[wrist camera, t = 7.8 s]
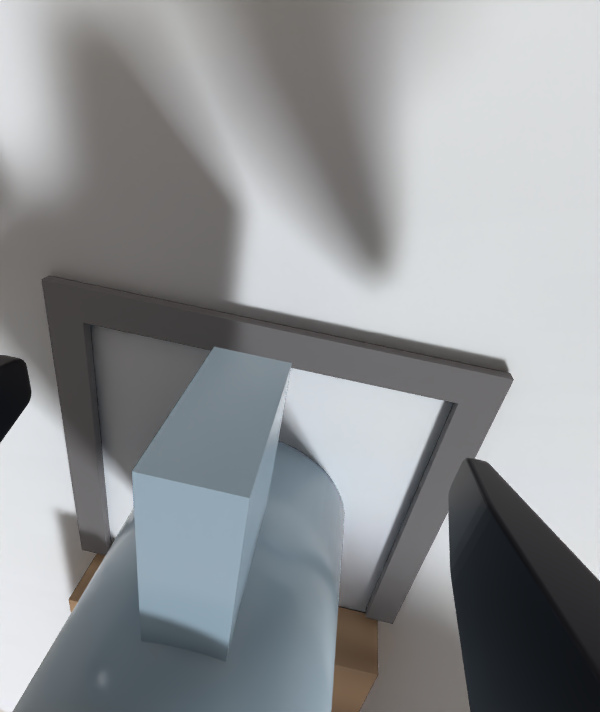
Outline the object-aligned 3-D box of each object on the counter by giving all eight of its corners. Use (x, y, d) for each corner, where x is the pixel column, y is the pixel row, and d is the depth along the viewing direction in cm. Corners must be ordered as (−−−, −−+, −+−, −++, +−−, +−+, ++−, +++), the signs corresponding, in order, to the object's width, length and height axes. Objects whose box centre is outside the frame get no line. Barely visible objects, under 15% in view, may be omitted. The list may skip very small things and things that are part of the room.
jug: (324, 586, 16) (296, 868, 10) (155, 546, 17) (31, 798, 11) (405, 332, 11) (446, 618, 5) (151, 279, 11) (-114, 487, 5)
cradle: (99, 549, 17) (68, 599, 15) (377, 616, 17) (378, 675, 15) (120, 731, 26) (102, 776, 24) (303, 778, 25) (298, 827, 24)
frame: (49, 275, 11) (41, 279, 11) (510, 373, 11) (513, 379, 11) (86, 542, 17) (81, 549, 17) (392, 615, 16) (392, 623, 16)
